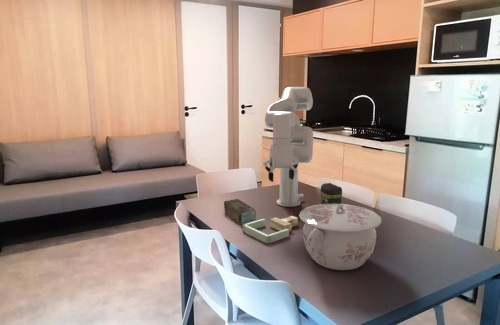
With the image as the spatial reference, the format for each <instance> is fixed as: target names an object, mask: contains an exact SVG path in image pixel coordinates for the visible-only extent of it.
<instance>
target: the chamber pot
mask: <svg viewBox="0 0 500 325" xmlns="http://www.w3.org/2000/svg"><path fill="white" fill-rule="evenodd" d="M298 217H299V219H300V220H301V221H302V222H303V223H304V225H303V227H302V238H303V243H304V246H305V249H306V250H307V252H308V254H309V256H310V257H311V259H312V260H313V261H314V262H315V263H317V264H318V266H321V267H323V268H327V269H330V270H333V271H334V270H336V271H350V270H355V269H357V268H360V267H361V266H363V265H364V264H365V263H366V261H367V260H368V259H369V258H370V256H371V255H372V254H373V253H374V249H375V246H376V243H377V242H376V241H377V231H376V228H378V227H380V226H381V224H382V223H383V222H382V217H381V216H380V215H379V214H378V213H377V212H375V211H373V210H370V209H368V208H366V207H362V206H358V205H353V204H348V203H347V204H346V203H341V204H337V203H332V204H321V203H319V204H313V205H311V206H307V207H304V208H303V209H302V210H301V211H300V212H299V214H298Z"/></svg>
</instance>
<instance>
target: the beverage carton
mask: <svg viewBox="0 0 500 325" xmlns="http://www.w3.org/2000/svg"><path fill="white" fill-rule="evenodd" d="M223 208H224V213H225V214H227V215H228V216H229V217H230V218H232V219H234V220H235V221H236V222H237V223H239V224H241V225H243V224H247V223H250V222H254V221H257V210H256V209H255V208H254V207H252V206H250V205H249V204H247V203H246V202H243V201H242V200H240V199H239V198H235V199H229V200H224V202H223Z"/></svg>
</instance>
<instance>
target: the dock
mask: <svg viewBox="0 0 500 325" xmlns="http://www.w3.org/2000/svg"><path fill="white" fill-rule="evenodd" d="M241 225H242V226H241V227H242V229H241V230H242V232H243V233H245V234H247V235H249V236H251V237H253V238H255V239H256V240H259V241H261V242H263V243H265V244H271V243H274V242H277V241H279V240H283V239H285V238H288V237H290V232H289V229H284V230H281V231H279V230H277V231H275V232H273V233H269V234H267V233H264V232H262V231H260V230H258V228H262V227H265V226H266V219H265V218H261V219H258V220H257V219H256V221H254V222H250V223H246V224H241Z"/></svg>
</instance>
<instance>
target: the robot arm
mask: <svg viewBox="0 0 500 325" xmlns="http://www.w3.org/2000/svg"><path fill="white" fill-rule="evenodd" d="M313 104H314V100H313V94H312V91H311V89H310V88H308V87H307V86H289V87H286V88H284V89H283V91H282V94H281V97H280V99H279V100H278V101H275V102H274V103H272V104H270V105H269V106H268V108H267V110H266V113H265V117H264V123H265V126H266V127H267V128H269V129H272V144H270V148H269V155H268V156H269V158H268V159H267V160H265V161H263V162H262V165H263V167H264V169H265V170H266V171H267V172H268V180H269V181H270V182H272V183H274V170H275V169H279V199H276V204H277V205H278V206H281V207H284V208H285V207H286V208H291V207H292V208H293V207H298V206H300V205H301V200H300V198H304V197H305V194H304V193H300V194H299V191H298V189H299V186H298V184H299V170H298V167H299V164H309V163H311V161H312V159H313V150H314V131H313V128H312V127H309V126H300V125H301V120H300V117H299V115H297V114H296V113H295V111H310V110H311V109H312V108H313Z"/></svg>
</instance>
